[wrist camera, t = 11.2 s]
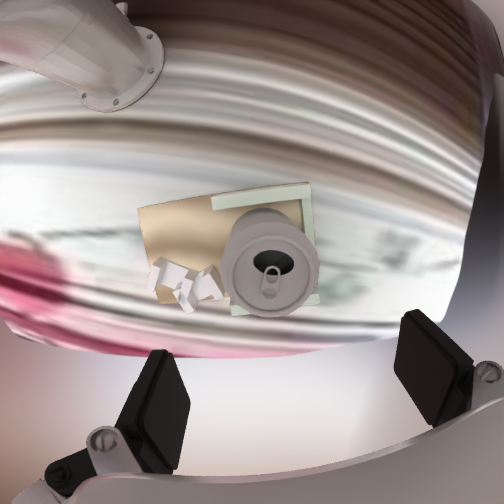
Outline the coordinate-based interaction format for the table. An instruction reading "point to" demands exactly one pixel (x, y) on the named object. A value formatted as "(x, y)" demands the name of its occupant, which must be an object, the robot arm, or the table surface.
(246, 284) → the can
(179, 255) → the board
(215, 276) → the clip
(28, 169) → the table surface
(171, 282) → the clip
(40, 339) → the table surface
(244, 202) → the bracket
